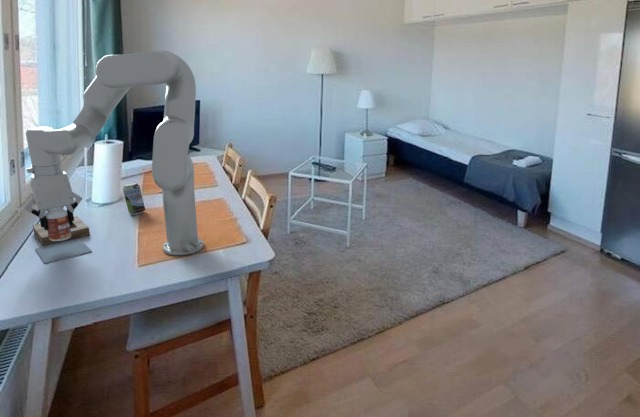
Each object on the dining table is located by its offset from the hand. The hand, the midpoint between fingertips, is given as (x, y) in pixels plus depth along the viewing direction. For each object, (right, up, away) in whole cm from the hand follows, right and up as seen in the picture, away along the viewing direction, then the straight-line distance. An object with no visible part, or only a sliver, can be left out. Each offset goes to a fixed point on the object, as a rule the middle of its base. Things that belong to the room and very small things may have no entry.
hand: (58, 225), depth 139 cm
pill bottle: (0, -4, +1) cm, 4 cm away
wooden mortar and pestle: (-9, -3, +17) cm, 19 cm away
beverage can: (+10, +3, +35) cm, 37 cm away
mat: (0, -8, +3) cm, 9 cm away
